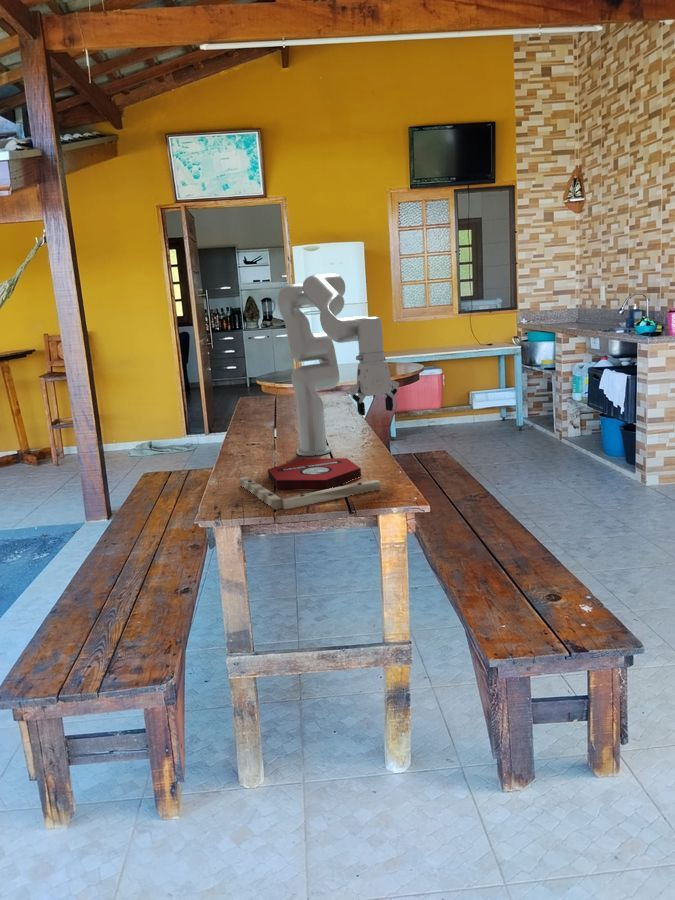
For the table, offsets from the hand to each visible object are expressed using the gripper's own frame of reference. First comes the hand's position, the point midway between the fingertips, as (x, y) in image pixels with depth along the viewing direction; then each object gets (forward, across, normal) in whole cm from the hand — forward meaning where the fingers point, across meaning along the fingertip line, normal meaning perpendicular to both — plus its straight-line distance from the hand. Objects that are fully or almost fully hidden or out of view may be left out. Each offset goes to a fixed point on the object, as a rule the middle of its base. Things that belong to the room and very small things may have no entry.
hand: (375, 412), depth 229 cm
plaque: (+20, -20, +7) cm, 29 cm away
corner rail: (+19, -26, -2) cm, 32 cm away
